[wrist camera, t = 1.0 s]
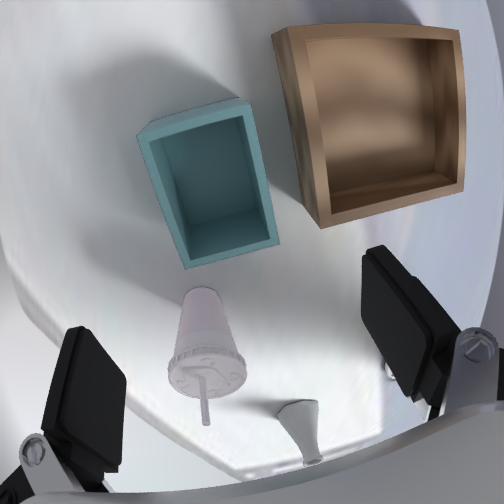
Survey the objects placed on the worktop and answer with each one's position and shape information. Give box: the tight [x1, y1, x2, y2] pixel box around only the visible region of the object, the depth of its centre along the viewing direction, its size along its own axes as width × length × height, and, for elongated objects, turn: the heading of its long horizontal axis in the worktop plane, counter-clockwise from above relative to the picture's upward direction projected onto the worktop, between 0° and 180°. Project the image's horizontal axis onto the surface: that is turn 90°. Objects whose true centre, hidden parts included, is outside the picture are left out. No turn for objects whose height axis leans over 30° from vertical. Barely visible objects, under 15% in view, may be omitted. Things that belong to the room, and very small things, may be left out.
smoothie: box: [168, 287, 247, 426], centre depth 26 cm, size 6×6×14 cm
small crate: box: [136, 97, 280, 270], centre depth 22 cm, size 10×7×6 cm
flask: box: [277, 401, 323, 466], centre depth 43 cm, size 7×7×10 cm
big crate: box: [271, 23, 466, 229], centre depth 22 cm, size 15×15×4 cm
